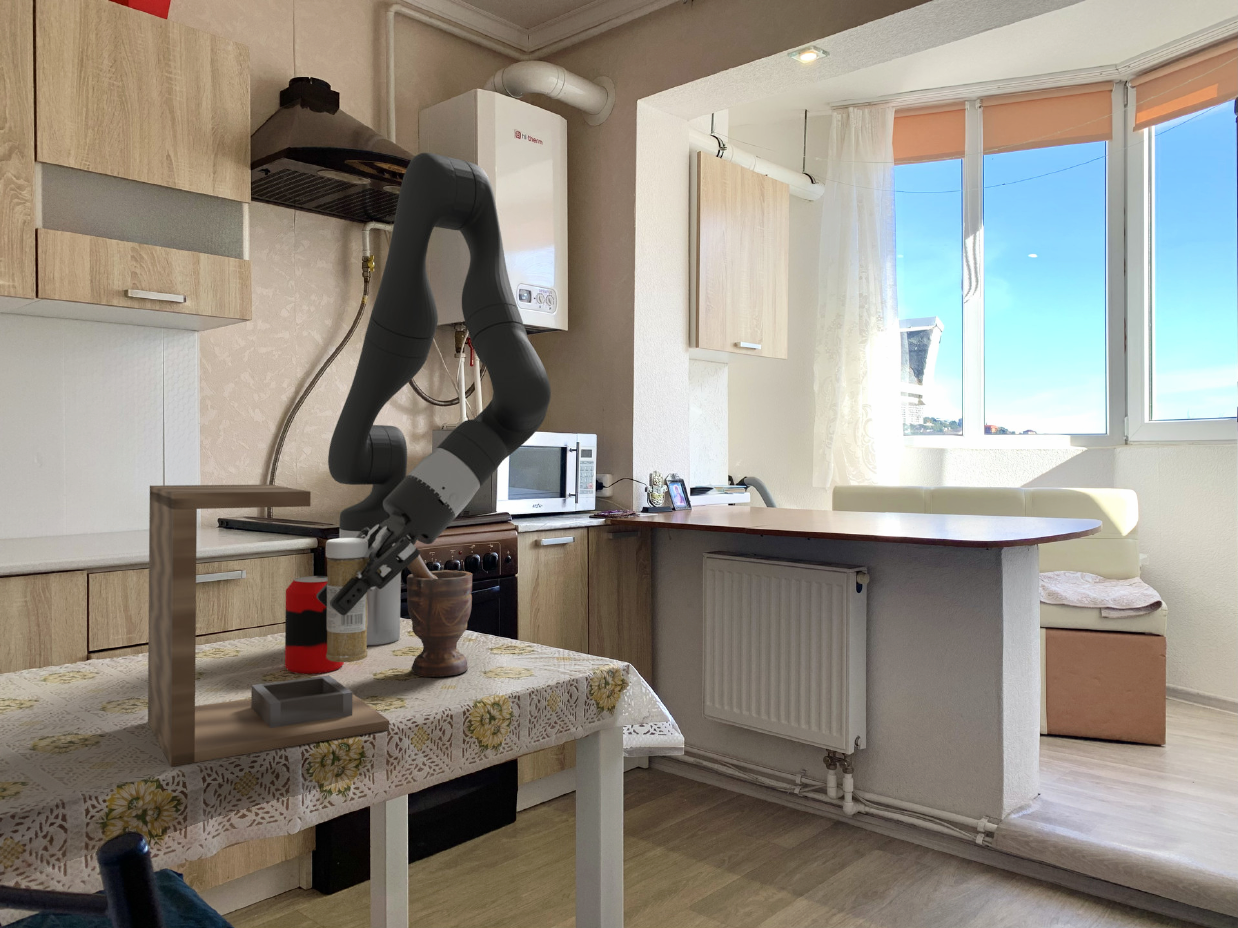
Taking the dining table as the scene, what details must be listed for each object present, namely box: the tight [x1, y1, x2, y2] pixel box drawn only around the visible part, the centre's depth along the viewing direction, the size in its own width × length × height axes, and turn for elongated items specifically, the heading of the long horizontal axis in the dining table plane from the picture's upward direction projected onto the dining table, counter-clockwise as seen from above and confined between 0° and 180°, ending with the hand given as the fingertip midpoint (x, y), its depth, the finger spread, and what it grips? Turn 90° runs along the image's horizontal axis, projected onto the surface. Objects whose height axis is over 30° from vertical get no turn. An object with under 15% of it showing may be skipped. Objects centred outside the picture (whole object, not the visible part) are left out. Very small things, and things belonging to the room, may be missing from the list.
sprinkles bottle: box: [325, 537, 368, 663], centre depth 101 cm, size 5×5×13 cm
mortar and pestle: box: [406, 543, 473, 678], centre depth 120 cm, size 12×9×20 cm
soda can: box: [284, 575, 345, 675], centre depth 122 cm, size 8×8×12 cm
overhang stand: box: [147, 484, 390, 767], centre depth 96 cm, size 16×21×26 cm
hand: (329, 605), depth 100 cm, fingers closed on sprinkles bottle, 4 cm apart
